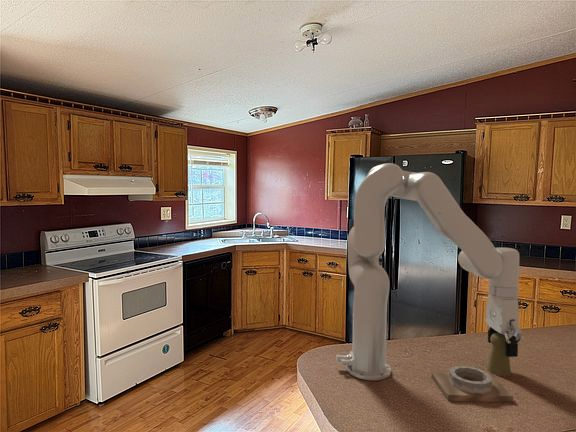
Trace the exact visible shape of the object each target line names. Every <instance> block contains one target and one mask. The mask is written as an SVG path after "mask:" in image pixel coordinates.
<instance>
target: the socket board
mask: <svg viewBox="0 0 576 432" xmlns="http://www.w3.org/2000/svg"><path fill="white" fill-rule="evenodd" d="M492 375H493V374H492V373H490V372H488V371H485V370H483V369H481V368H478V367H473V366H470V365H456V366H452V367H450V369H449V371H448V372H437V371H436V372H431V379H432V380H433V382H434V383H435V385H436V386H437V387H438V389H439V390H440V392H441V393H442V395H443V396H444V397H445V398H446V400H447V401H448V402H450V401H451V402H492V403H493V402H495V403H496V402H497V403H500V402H501V403H513V401H514V396H513V395H512V393H511V392H509V390H507V388H505V387H504V386H503V385H502V384H501V383H500V382H499V381H498V380H497V379H496V378H495V377H494V376H492Z"/></svg>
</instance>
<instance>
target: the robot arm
mask: <svg viewBox="0 0 576 432" xmlns="http://www.w3.org/2000/svg"><path fill="white" fill-rule="evenodd" d="M442 180H443V179H441V178H440V176H438V175H437V174H435V173H434V172H431V171H423V172H414V171H407V170H403V169H402V168H401V167H400V166H399V165H398V164H396V163H391V162H389V163H388V162H387V163H386V162H385V163H382V164H378V165H376V166H373V167H372V168H371V169H370V170H369V171H368V173H367V174H366V177H365V178H364V179H363V180H362V182H360V185H359V187H358V188H357V190H356V192H355V197H354V203H353V226H352V228H351V229H350V230H349V233H348V235H347V236H348V237H347V264H348V266H347V267H348V275H349V276H348V277H349V279H350V282H351V283H352V284H353V286H354V293H353V301H352V302H353V305H352V342H351V343H352V347H351V348H352V350H350V351H349V354H348V353H347V354H346V355H342V354H337V355H336V356H335V359H336V363H340V365H341V366H346V370H347V372H348V373H349V374H350V375H351V376H353V377H355V378H356V379H361V380H365V381H381V380H386V379H387V378H389V377H390V376H391V374H392V368H391V366H390V365H389V364H388V363H386V361H387V359H386V358H387V325H388V323H387V322H388V321H387V315H388V313H387V312H388V300H389V295H390V294H389V293H390V278H389V275H388V273H387V271H386V270H385V268H384V267H382V266H381V265H380V259H379V258H380V256H381V255H382V254H383V253H384V250H385V247H386V229H385V224H386V222H385V214H386V213H385V212H386V211H385V209H386V208H385V207H386V204H387V202H388V199H389V198H390V197H393V198H397V199H404V200H409V201H415V202H417V203H418V205H420V207H421V208H422V210H423V211H424V214H426V217H428V219H429V220H430V222H431V223H432V225H433V227H434V228H435V229H436V230H437V231H438V232H439V233H440V234H441V235H443V236H444V237H445V238H447V239H449V240H450V241H451V242H453V243H454V244H455V245H456V246H457V247H458V248H459V249H460V250H461V251H460V252H459V254H458V255H457V259H458V260H457V261H458V264H459V265H460V267H461V268H462V269H463V270H465V271H467V272H469V273H471V274H473V275H475V276H477V277H479V278H483V279H486V280H487V279H488V296H487V299H486V300H487V301H486V306H485V324H486V325H487V343H489V344H492V343H491V341H490V338H491V335H492V334H494V333H500V334H505V337H506V340H507V342H505V356H506V357H509V358H517V357H518V353H519V347H518V346H519V345H518V344H520V340H521V336H522V334H523V332H522V330H521V328H520V312H519V302H518V299H519V287H520V286H519V285H520V283H519V281H520V278H519V277H520V252H519V251H518V250H517V249H515V248H511V247H495V246H494V244H493V242H492V241H491V239H490V238H489V237H488V236H487V235H486V234H485V232H484V231H483V230H482V229H480V228H479V226H478V225H476V224H475V222H474V221H472V219H470V217H469V216H467V215H466V214H465V212H464V211H463V210H462V208H461V207H460V205H459V203H457V201H456V200H455V198H454V196H453V195H452V194H451V192H450V190H449V189H448V187H447V186H446V185H445V184H444V182H443V181H442ZM510 335H512V336H511V337H510Z"/></svg>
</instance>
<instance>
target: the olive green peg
mask: <svg viewBox="0 0 576 432" xmlns="http://www.w3.org/2000/svg"><path fill="white" fill-rule="evenodd" d="M490 341H491V343H490V344H491V349H490V354H489V359H488V365H487V372H488V373H489V374H491V375H494V376H498V377H510V376H511V375H512V372H511V371H512V370H511V363H510V362H511V361H510V357H506V356H505V342H507V340H506V337H505V334H500V333H494V334H492V335H491V338H490Z"/></svg>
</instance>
